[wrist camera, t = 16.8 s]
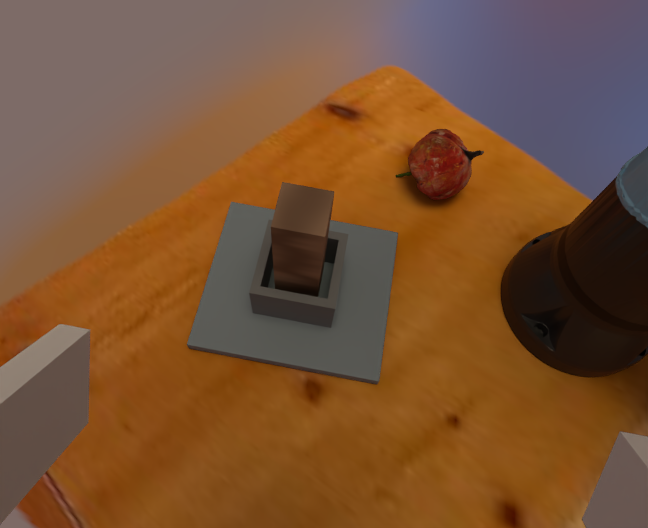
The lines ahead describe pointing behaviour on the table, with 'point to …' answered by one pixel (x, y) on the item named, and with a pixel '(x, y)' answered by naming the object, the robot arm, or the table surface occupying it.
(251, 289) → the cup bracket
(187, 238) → the table surface
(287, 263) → the walnut rail post
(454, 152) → the pomegranate
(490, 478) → the table surface
